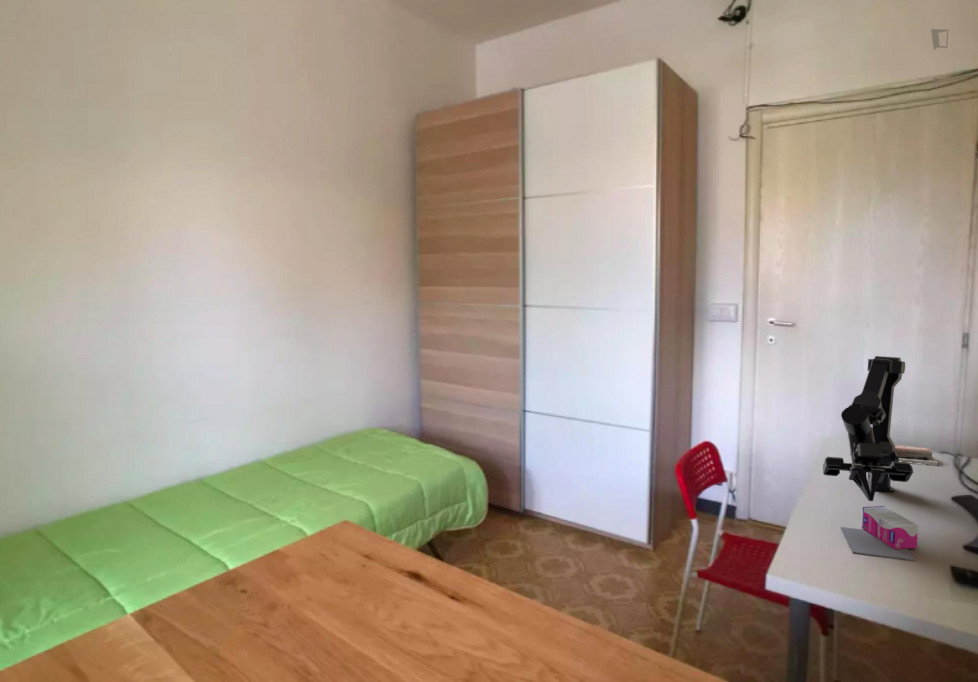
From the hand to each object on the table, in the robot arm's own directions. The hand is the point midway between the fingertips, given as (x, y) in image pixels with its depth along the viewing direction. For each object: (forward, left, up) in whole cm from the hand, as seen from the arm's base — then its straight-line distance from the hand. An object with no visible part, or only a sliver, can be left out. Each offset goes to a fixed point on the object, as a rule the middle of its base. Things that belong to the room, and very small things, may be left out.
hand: (871, 500), depth 142 cm
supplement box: (-3, +1, -5) cm, 6 cm away
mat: (+6, 0, -9) cm, 10 cm away
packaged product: (-68, +24, -9) cm, 73 cm away
